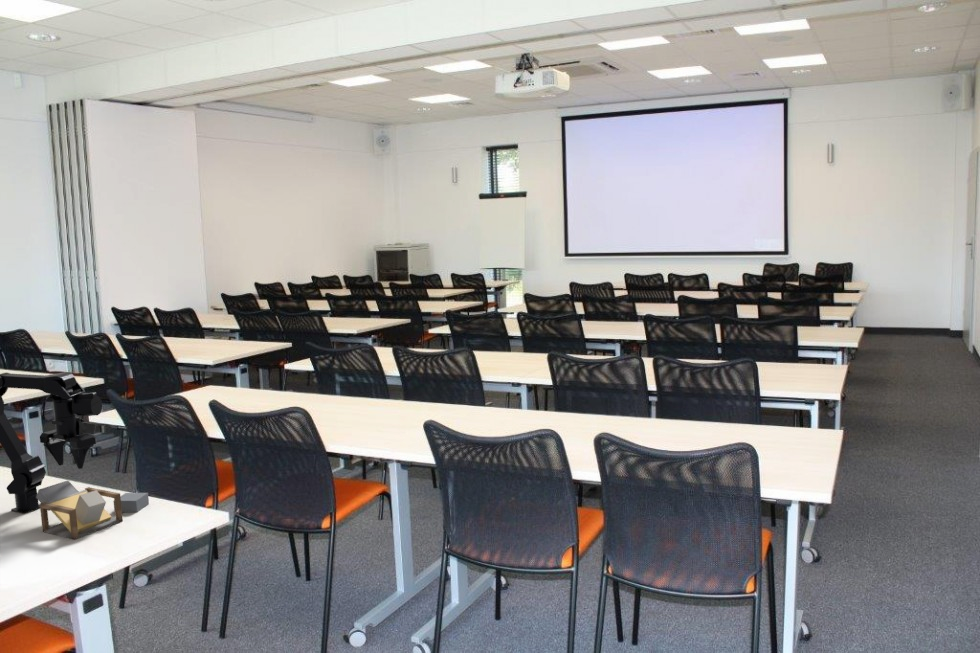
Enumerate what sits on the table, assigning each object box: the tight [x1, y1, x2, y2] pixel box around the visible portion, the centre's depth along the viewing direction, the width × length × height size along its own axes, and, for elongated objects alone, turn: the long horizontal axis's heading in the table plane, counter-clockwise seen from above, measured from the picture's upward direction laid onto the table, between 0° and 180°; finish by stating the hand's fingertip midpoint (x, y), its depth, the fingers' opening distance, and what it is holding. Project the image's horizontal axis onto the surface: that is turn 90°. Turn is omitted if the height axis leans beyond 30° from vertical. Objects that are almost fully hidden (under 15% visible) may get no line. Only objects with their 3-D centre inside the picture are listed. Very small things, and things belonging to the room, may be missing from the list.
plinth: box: [113, 492, 150, 513], centre depth 246 cm, size 7×7×4 cm
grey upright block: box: [75, 490, 107, 525], centre depth 230 cm, size 5×5×7 cm
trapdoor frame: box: [39, 486, 124, 540], centre depth 232 cm, size 14×15×8 cm
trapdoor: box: [36, 480, 113, 532], centre depth 234 cm, size 18×12×4 cm
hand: (70, 466), depth 246 cm, fingers open, 9 cm apart
